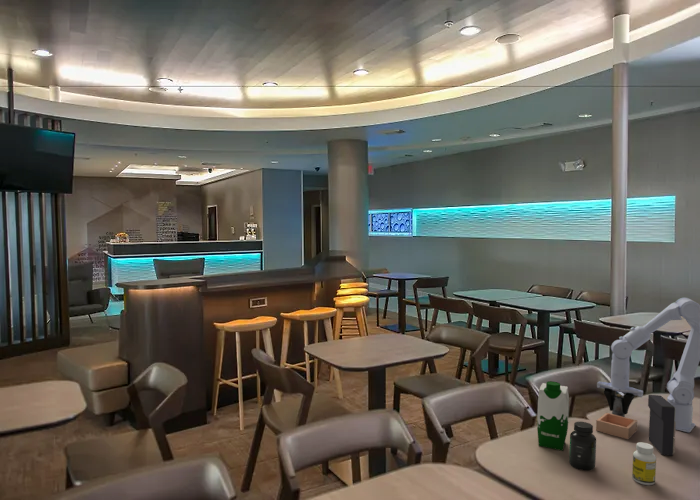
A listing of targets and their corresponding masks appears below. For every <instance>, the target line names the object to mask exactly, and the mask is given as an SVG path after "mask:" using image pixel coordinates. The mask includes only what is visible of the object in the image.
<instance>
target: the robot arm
mask: <svg viewBox="0 0 700 500" xmlns="http://www.w3.org/2000/svg"><path fill="white" fill-rule="evenodd" d="M682 317H683V319H684V320H685V321H686V322H687V323H688V325H689V326H690V331H689V335H688V337H687V340H686V344H685V345H684V349H683V353H682V355H681V358H680V361H679V365H678V367H677V370H676V371H675V372H674V373H673V376H672V377H671V379H670V380H669V381H668V382H667V383H666V388H667V391H668V392H669V395H668V396H667V399H666V400H667V401H668V402H669V403H670V404H671V405H673V406H674V407H675V409H676V410H675V420H674V421H675V422H676V426H675V431H676V430H677V431H681V432H684V433H688V434H689V433H691V432H692V430H693V429H694V428H695V427H696V424H697V423H693V411H694V407H693V401H694V399H695V393H694V387H695V376H696V372H697V370H698V368H699V364H700V303H698V302H697V301H694V300H693V299H691V298H689V297H681V298H678V299H677V300H676V301H675V302H672V303H670V304H669V305H668V306H666V307H665V308H664V309H663V310H661V311H660V312H659V313H658V314H657V315H655V316H654V317H652V319H650V320H649V321H648V322H647V323H645V324H643V326H640V325H637V326H635V327H634V326H632V327H631V328H629V329H630V331H629V332H627V333H626V334H625V335H623V336H619V337H618V338H619V339H616V340H614V341H613V342H612V343H611V345H610V349H611V352H612V355H611V367H610V382H605V381H597V383H596V388H598V389H603V394H604V396H605V398H606V400H607V404H608V409H609V411H610V412H612V406H613V395H616V392H618V393H623V396H624V414H625V415H628V413H629V412H628V411H629V409H630V405H631V403H632V402H633V400H634V398H635V397H638V398H643V396H644V390H641V389H637V388H634V387H631V386H630V366H631V363H630V357H631V356H632V354H633V351H635V350H637V349H638V348H640V347H641V346H642V345H644V344H646V343H647V342H648V341H649V340H651V334H652V333H654V332H655V331H657V330H658V329H660V328H661V327H663V326H664V325H666V324H668V323H669V322H671V321H682V320H683V319H682Z"/></svg>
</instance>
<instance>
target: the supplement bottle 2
mask: <svg viewBox="0 0 700 500" xmlns="http://www.w3.org/2000/svg"><path fill="white" fill-rule="evenodd" d="M635 449H636V450H635V451H634V452H633V453H632V474H631V475H632V477H631V478H632V479H633V481H634V482H636V483H638V484H641V485H643V486H644V485H645V486H652V485H654V484H655V483H656V475H657V473H656V469H657V457H656V455H655V454H654V446H653V444H650V443H647V442H641V441H640V442H639V441H638V442H637V443H636V447H635Z"/></svg>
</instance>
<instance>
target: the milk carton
mask: <svg viewBox="0 0 700 500" xmlns="http://www.w3.org/2000/svg"><path fill="white" fill-rule="evenodd" d="M569 401H570V395H569V387H568V386H565V385H561V383H560V382H559V381H546V383H545V382H542V383H541V385H540V387H539V390H538V399H537V424H536V425H537V426H536V427H537V429H536V430H537V440H538V442H537V443H538V447H543V448H548V449H553V450H557V451H563V450H564V448H565V442H566V440H567V439H566V438H567V435H568V429H569V408H570V405H569V404H570V403H569Z"/></svg>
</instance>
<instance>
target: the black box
mask: <svg viewBox="0 0 700 500" xmlns="http://www.w3.org/2000/svg"><path fill="white" fill-rule="evenodd" d="M647 400H648V401H647V402H648V403H647V407H648V408H649V420H648V421H649V422H648V423H649V425H648V427H649V428H648V441H649V442H650V443H651V445H652V446H653V448H655V449H656V450H657V451H658V452H659V453H660V455H661V456H670V457H673V455H674V454H675V447H676V446H675V442H676V441H675V439H676V438H675V437H676V429H675V426H676V422H675V421H674V420H675V410H676V409H675V407H674V406H673V405H671V404H670V403H669V402H668V401H667V399H666V398H664V397H663V395H656V394H648V399H647Z"/></svg>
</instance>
